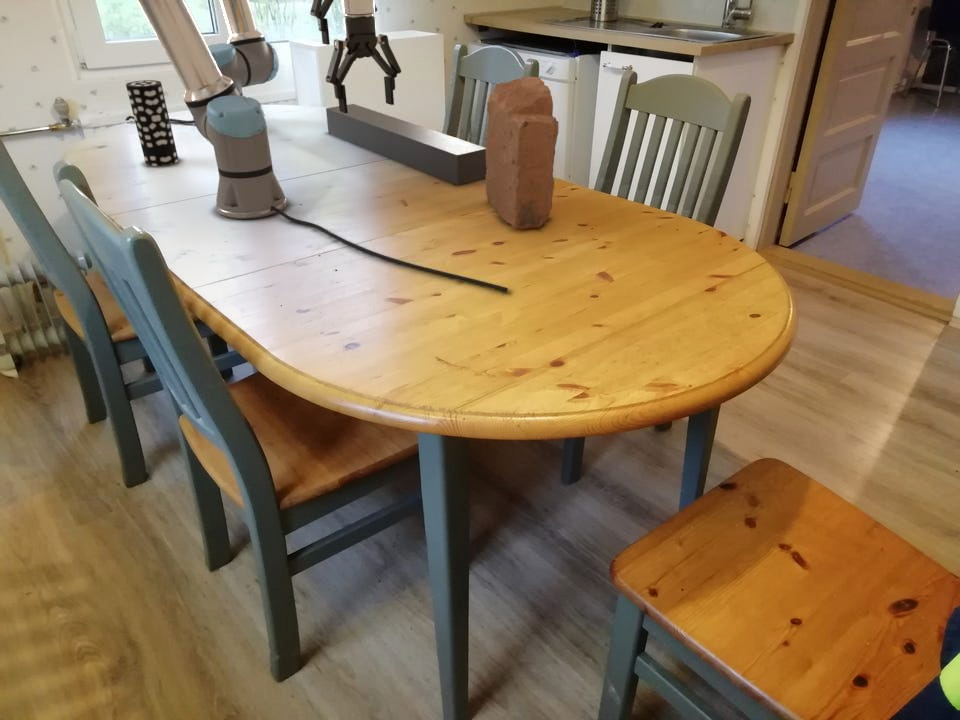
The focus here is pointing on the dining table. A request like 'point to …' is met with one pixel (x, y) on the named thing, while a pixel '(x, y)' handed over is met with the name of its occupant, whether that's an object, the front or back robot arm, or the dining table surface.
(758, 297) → the dining table surface
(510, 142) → the stone
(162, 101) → the black white spotted cylinder
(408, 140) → the wide beam
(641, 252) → the dining table surface
